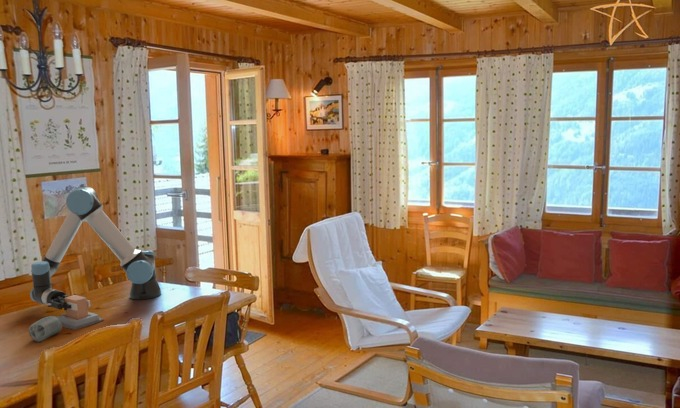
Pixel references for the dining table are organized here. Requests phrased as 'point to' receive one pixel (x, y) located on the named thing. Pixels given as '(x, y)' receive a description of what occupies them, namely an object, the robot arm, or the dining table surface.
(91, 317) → the base
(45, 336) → the grey faceted cylinder
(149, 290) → the robot arm
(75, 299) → the key block
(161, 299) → the dining table surface
